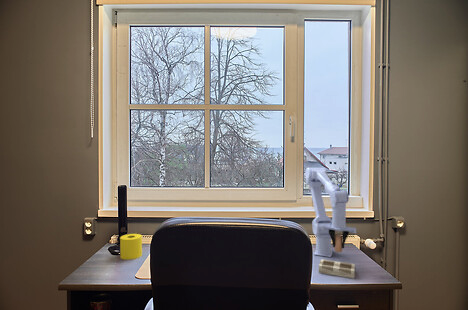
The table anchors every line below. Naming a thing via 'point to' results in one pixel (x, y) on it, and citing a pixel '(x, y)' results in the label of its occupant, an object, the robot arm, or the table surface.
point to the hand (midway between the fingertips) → (338, 247)
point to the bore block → (337, 268)
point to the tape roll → (130, 246)
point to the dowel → (338, 243)
